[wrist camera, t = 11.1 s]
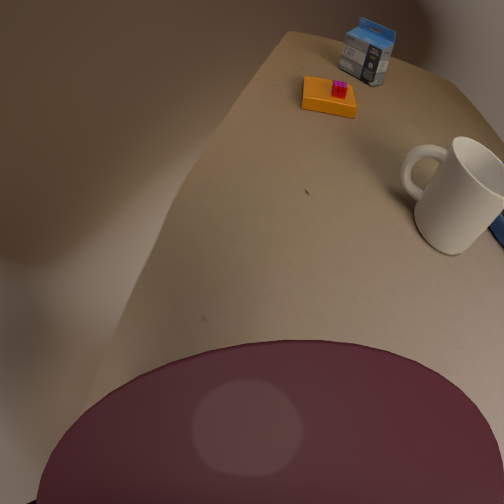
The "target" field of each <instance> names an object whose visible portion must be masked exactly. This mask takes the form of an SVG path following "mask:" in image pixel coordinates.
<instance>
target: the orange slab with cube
mask: <svg viewBox="0 0 504 504" xmlns="http://www.w3.org/2000/svg"><path fill="white" fill-rule="evenodd" d="M301 109H306V110H312V111H318V112H323V113H329V114H334V115H339V116H344V117H348V118H353V119H354V116H355V113H356V109H357V105H356V100H355V96H354V92H353V88H352V85H351V84H347V83H345V82H341V81H336V80H328V79H323V78H317V77H311V76H304V80H303V88H302V104H301Z"/></svg>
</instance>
